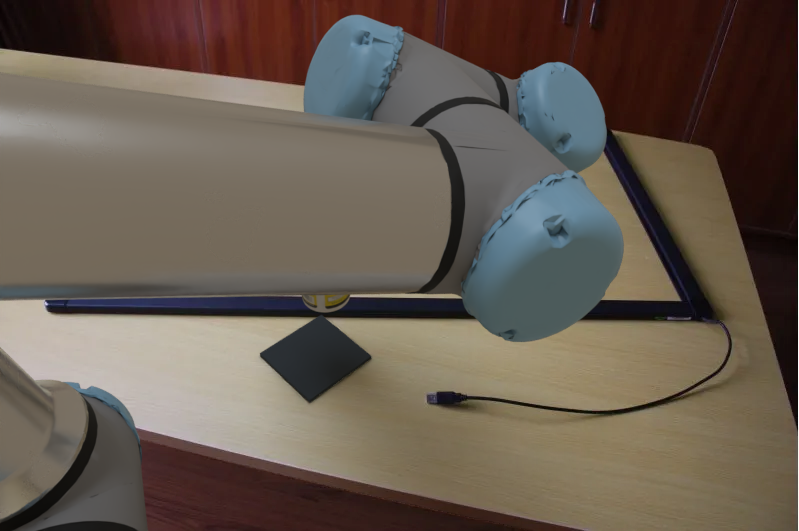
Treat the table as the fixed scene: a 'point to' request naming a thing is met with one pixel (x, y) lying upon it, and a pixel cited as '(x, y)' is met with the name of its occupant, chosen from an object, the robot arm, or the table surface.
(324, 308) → the supplement bottle
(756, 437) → the table surface
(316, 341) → the mat
